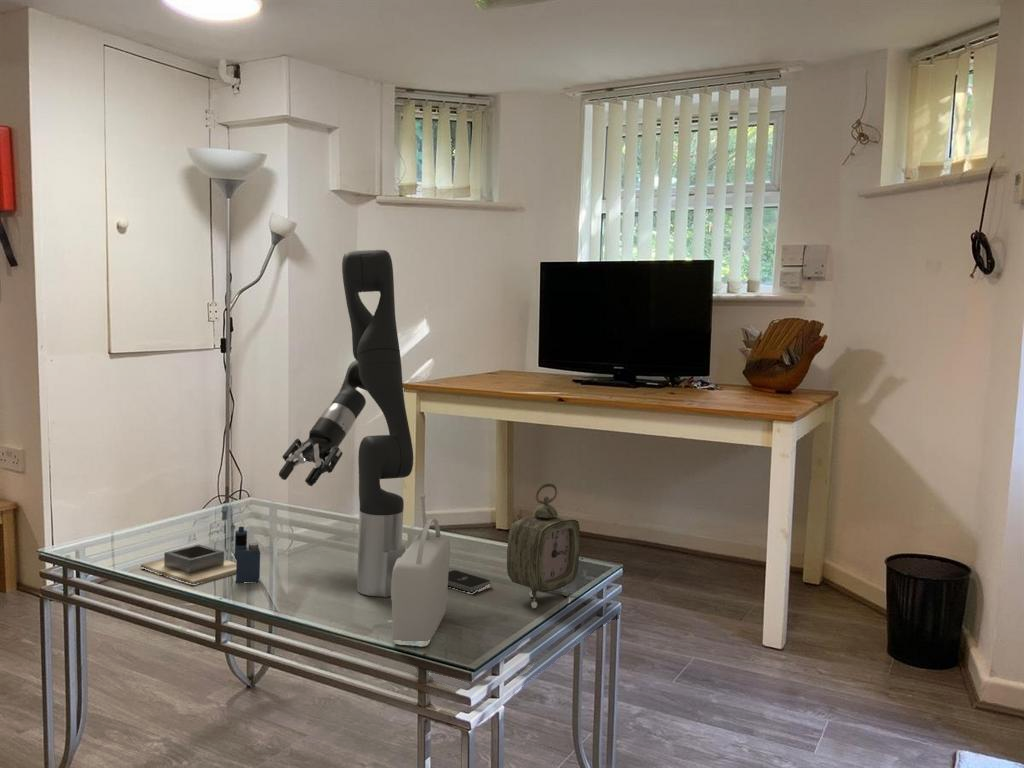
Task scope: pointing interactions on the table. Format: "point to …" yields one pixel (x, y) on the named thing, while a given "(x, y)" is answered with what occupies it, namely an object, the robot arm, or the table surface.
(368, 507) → the robot arm
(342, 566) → the table surface
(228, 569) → the mounting board
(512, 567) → the tabletop clock
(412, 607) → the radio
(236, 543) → the vaping device
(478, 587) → the external hard drive
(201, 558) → the square socket
